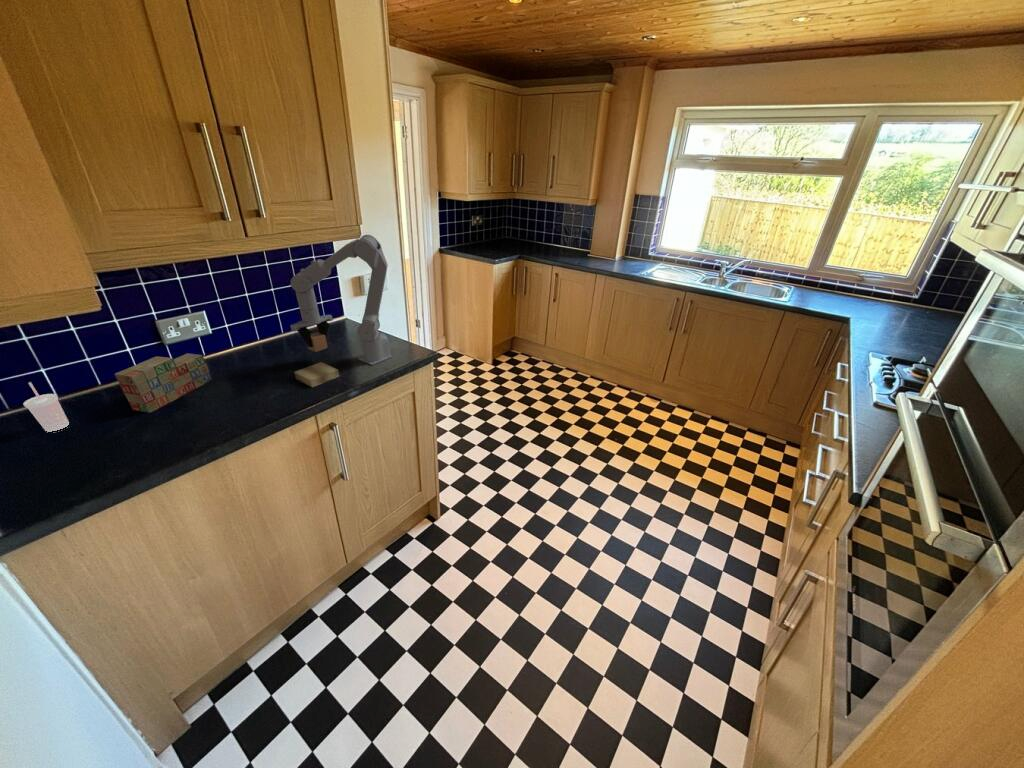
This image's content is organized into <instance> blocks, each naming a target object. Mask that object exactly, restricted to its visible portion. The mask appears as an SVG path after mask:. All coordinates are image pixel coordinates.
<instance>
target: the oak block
mask: <svg viewBox="0 0 1024 768" xmlns="http://www.w3.org/2000/svg"><path fill="white" fill-rule="evenodd" d="M294 376H295V380H298V381H299V382H301V383H303V384H305V385H307V386H309V387H311V388H314V387H317V386H319V385H322V384H324V383H326V382H330V381H332V380H334V379H336V378H340V373H339V369H338V368H336V367H333V366H331V365H329V364H327V363H324V362H322V361H321V362H317V363H315V364H313V365H308V366H307V367H305V368H301V369H298V370H296V371H294Z"/></svg>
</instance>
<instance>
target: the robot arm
mask: <svg viewBox="0 0 1024 768" xmlns="http://www.w3.org/2000/svg"><path fill="white" fill-rule="evenodd" d="M357 257H358V258H359V259H361V260H362V261H363V262H364V263H366V264H367V265H368V266H369V267H370V269H371V273H370V279H369V285H368V291H367V298H366V302H365V303H366V304H365V308H364V313H363V315H362V320H361V324H360V325H359V326H358V327H357V331H356V332H357V335H358V336H359V340H360V344H361V345H360V346H361V351H362V357H359V358H358V360H359V361H361V362H363V363H366V364H368V365H370V366H373V365H376V364H378V363H381V362H383V361H386V360H388V359H391V358H392V357H393V356H392V355H391V348H390V342H389V341H390V340H389V338H388V337H387V335H386V334H385V333H384V332H383V333H382V332H381V333H380V332H379V329H380V327H381V324H380V320H379V319H380V309H381V303H382V297H383V292H384V288H385V281H386V278H387V277H386V276H387V272H388V261H387V260H386V257H385V255H384V252H383V248H382V244H381V243H380V242H379V241H378V239H377V238H376V237H375V236H373V235H371V234H364V235H362V236H361V237H360V238H356V239H354V240H352V241H350V242H348V243H347V244H345V245H344V246H342V247H341V248H340V249H338V250H336V251H335V252H334V253H333V254H332V255H330V256H328V258H326V259H325V260H324V259H313V260H311V261H310V264H309V265H308V266H306V268H301V269H300V270H299V272H298V273H297V274H295V275H293V277H292V278H290V279H291V280H290V286H291V288H292V290H293V291H295V295H296V300H297V304H298V307H299V313H300V315H301V320H300V321H298V322H296V323H293V324H290V330H291V331H292V332H295V333H296V332H298V333H299V335H300V336H301V337H302V338H303V340H304V342H305V343H306V345H308V346H307V348H308V347H313V345H312V341H311V334H312V333H311V330H310V329H309V327H312V326H316V328H317V330H318V332H319V333H321V334H324V335H325V337H326V341H327V337H328V331H329V328H330V326H331V325H330V323H329V322H332V321H334V320H333V315H332V314H325V315H320V312H319V307H318V303H317V298H316V295H315V294H316V293H315V291H314V286H315V285H317V284H319V283H320V282H321V281H323V280H324V279H326V278H327V277H328V276H329V277H330V275H331V274H332V269H333V268H334V267H336V266H337V265H339V264H340V263H342V262H343V261H345V260H346V259H348V258H352V259H356V258H357Z"/></svg>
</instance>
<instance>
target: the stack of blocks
mask: <svg viewBox="0 0 1024 768" xmlns="http://www.w3.org/2000/svg"><path fill="white" fill-rule="evenodd" d="M114 376H115V378H116V380H117V382H118V385H119V387H120V389H121V390H122V391H121V392H123V394H124V396H125V398H126V399H127V401H128V404H129V405H130V407H131V409H132V411H135V410H136V412H143V413H147V414H150V413H152V412H154V411H156V410H158V409H160V408H162V407H164V406H166V405H168V404H170V403H172V402H173V401H176V400H177V399H179V398H181V397H182V396H184V395H186V394H188V393H190V392H192V391H195V390H196V389H197V388H199V387H201V386H204V385H206V384H208V383H209V382H211V381H213V378H212V375H211V373H210V370H209V367H208V365H207V363H206V360H205V357H204V355H202V354H196V353H195V354H194V353H188V352H187V353H185V354H183V355H180V356H178V357H175V358H173V357H166V356H165V357H164V356H154V357H151V358H150V359H147V360H144V361H142V362H140V363H137V364H135V365H133V366H131V367H128V368H126V369H123V370H121V371H118V372H116V373H114Z"/></svg>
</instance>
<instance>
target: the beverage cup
mask: <svg viewBox="0 0 1024 768" xmlns="http://www.w3.org/2000/svg"><path fill="white" fill-rule="evenodd" d="M28 385H29V387H30V388H31V389H32V391H33V393H34V394H35V396H34V397H31V398H29V399H27V400H25V401H24V402H23V404H22V405H23V406H24V407H25V408H27V409H28V410H29V412H30V413H31V415H33V417H34V418H35V419H36V421H37V422H38V423H39V424H40V425H41V427H42V429H43V430H44V431H45V432H46V431H47V432H46V433H48V432H52V431H57V430H60V429H63V428H65V427H67V426H68V425H69V423H70V422H69V419H68V417H67V415H66V414H65V411H64V409H63V408H62V405H61V403H60V402H59V397H58V395H57V394H56V393H46V394H41V395H40V394H39V393H38V391H37V390H36V388H35V387H34V385H33V383H32V381H29V382H28ZM67 428H68V427H67Z"/></svg>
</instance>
